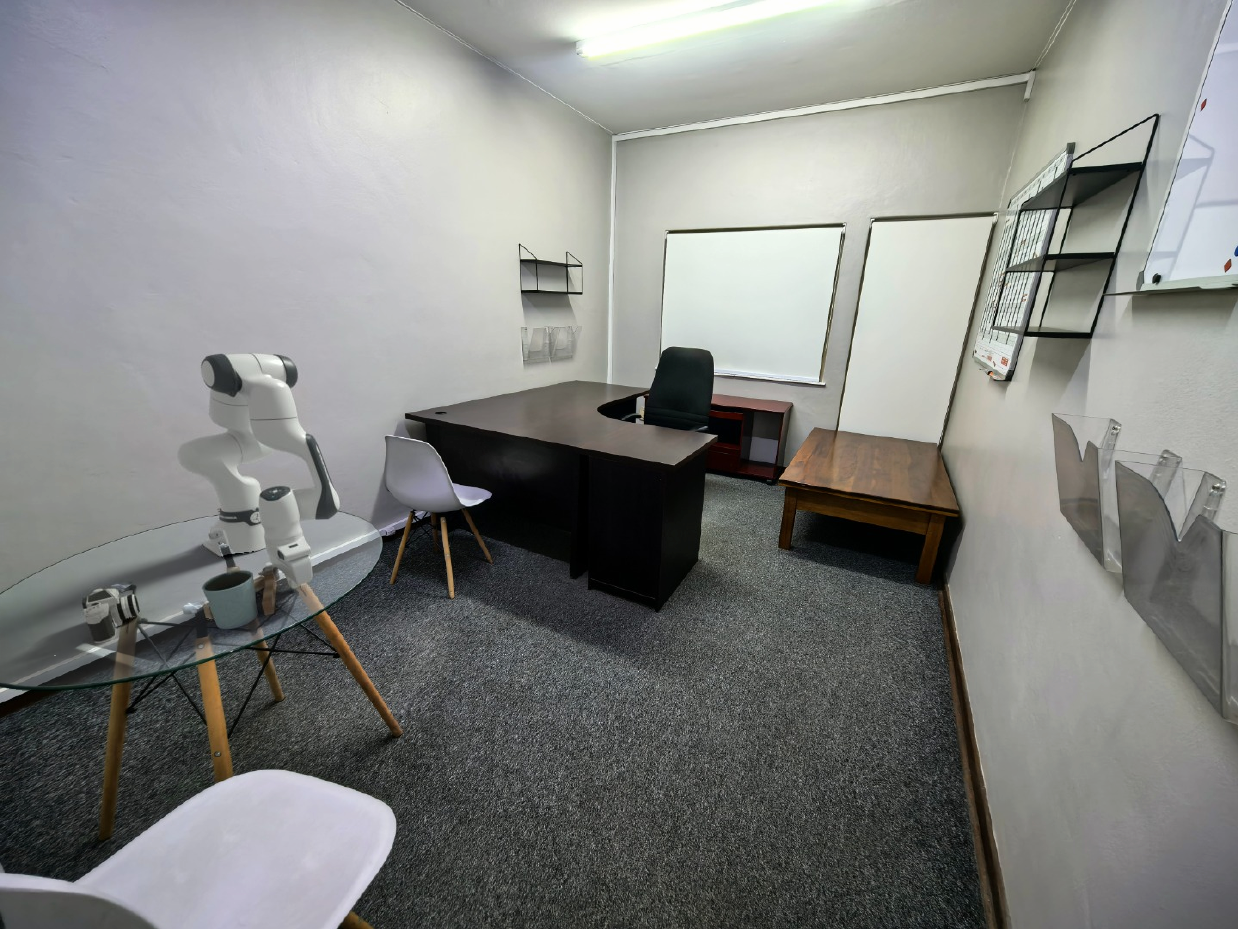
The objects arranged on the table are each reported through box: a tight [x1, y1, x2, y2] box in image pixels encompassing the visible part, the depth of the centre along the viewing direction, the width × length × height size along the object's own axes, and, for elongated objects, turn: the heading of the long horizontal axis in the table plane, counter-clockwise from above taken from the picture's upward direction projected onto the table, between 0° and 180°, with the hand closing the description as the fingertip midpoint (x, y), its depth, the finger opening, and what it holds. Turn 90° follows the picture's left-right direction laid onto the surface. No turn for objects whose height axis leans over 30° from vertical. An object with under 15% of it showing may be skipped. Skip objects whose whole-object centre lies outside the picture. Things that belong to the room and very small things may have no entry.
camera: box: [81, 588, 141, 644], centre depth 116 cm, size 16×9×10 cm, turn 45°
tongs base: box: [202, 566, 281, 620], centre depth 129 cm, size 20×4×6 cm, turn 166°
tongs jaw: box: [261, 561, 277, 616], centre depth 130 cm, size 20×2×6 cm, turn 33°
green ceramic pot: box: [201, 569, 259, 630], centre depth 119 cm, size 10×10×12 cm
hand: (294, 586), depth 132 cm, fingers closed
